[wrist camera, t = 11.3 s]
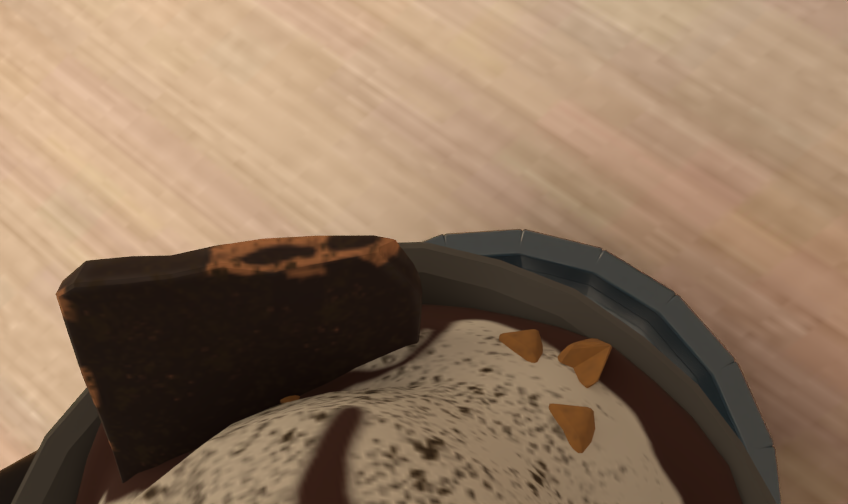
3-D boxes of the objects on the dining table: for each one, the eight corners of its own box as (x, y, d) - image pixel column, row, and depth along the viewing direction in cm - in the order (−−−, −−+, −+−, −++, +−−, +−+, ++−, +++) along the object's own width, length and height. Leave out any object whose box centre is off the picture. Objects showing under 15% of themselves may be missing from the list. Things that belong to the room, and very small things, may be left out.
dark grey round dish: (839, 525, 18) (915, 560, 14) (471, 813, 18) (447, 924, 14) (538, 180, 21) (533, 130, 17) (223, 432, 21) (148, 439, 17)
